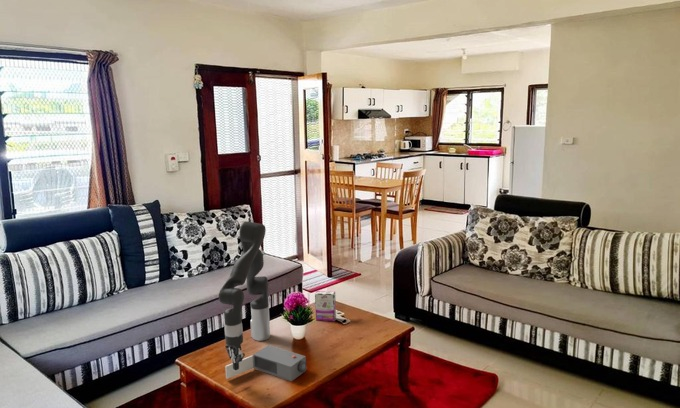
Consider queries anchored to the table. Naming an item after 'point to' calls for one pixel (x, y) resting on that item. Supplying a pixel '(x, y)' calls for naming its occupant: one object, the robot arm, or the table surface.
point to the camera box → (280, 362)
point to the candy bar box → (325, 305)
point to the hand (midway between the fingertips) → (236, 369)
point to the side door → (240, 367)
